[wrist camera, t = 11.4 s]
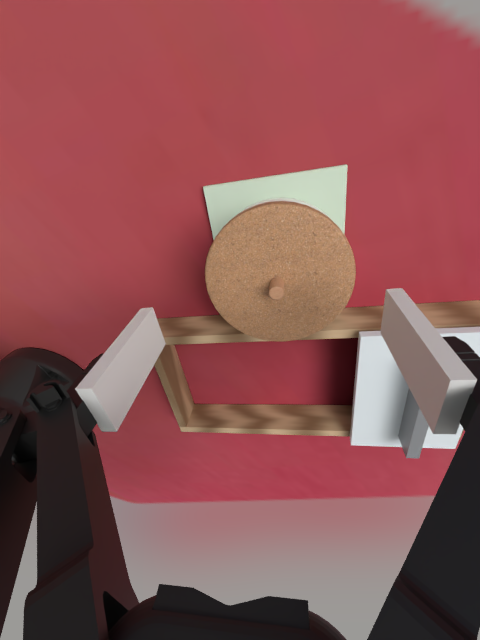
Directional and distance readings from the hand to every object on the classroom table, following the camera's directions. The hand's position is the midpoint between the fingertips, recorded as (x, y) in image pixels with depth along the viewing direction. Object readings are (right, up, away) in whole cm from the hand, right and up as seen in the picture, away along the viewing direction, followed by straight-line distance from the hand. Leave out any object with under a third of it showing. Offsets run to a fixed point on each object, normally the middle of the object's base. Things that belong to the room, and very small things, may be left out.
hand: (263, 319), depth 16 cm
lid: (+16, -8, +13) cm, 22 cm away
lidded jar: (+2, +7, +11) cm, 13 cm away
